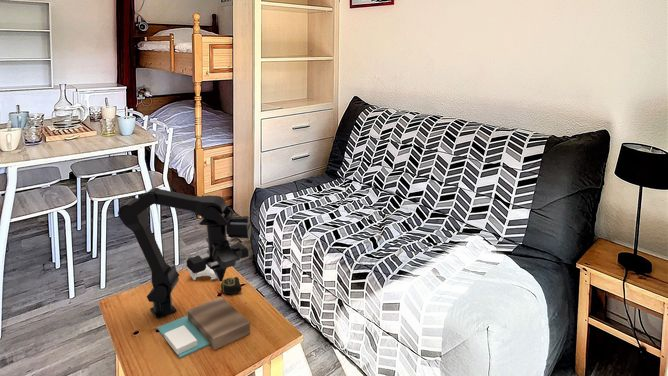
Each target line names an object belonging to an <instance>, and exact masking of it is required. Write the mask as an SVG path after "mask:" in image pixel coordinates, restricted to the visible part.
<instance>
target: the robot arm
mask: <svg viewBox="0 0 668 376" xmlns="http://www.w3.org/2000/svg"><path fill="white" fill-rule="evenodd" d="M152 205H159V206H164V207H168V208H173V209H179V210H183V211H189V212H192V213H195V214H196V215H198V216H199V217H202V219H201V220H200V222H199V223H198V224H199V226H206V234H207V238H206V239H205V240H206V241H205V242H207V247H208V249H207V251H206V252H207V255H208V256H206V257H204V258H203V257H202V258H203V259H202V258H201V255H198V254H197V255H194V257H193V256H191V257H189V258H187V260H186V268H187V267H188V268H189V269H190V270H191V271H192V272H193V273H195V274H196V273H198V272H201V271H204V270H205V269H206V265H207V266H208V267H209V268H210V269H212V270H213V271H214V273H215V275H216V277H217V278H216V279H217V280H218V282H221V283H222V281H223V280H224V277H225V275H226V270H227V269H228V268H230V267H235V266H236V264H237V262H238V261H240V260H241V259H244V258H248V257H249V256H250V249H249V248H248V247H246V246H245V245H244V244H243V243H241V242H238V243H235V244H231V245H230V242H229V240H228V238H230V239H250V238H251V235H252V223H251V220H250V217H249V216H248V215H244V216H234V214H235V213H234V211H232V209H231V208H230V207H229V206H228V205H227V202H226V200H225V199H224V197H222V196H220V195H211V194H210V195H200V196H198V195H197V196H195V195H191V194H185V193H181V192H176V191H170V190H166V189H161V188H159V187H151V189H149V190H148V191H147V192H145V193H144V194H142V195H141V196H139V197H132V198H130V199H129V200H128V201H127V202H125V203H124V204H122V205H121V206H120V207H119V209H118V211H117V217H118V218H119V219H120V221H121V222H122V224H123V225H124V227H126V228H127V229H128V230H130V231H131V232H133V235H134V237H135V238H136V241H137V243H138V245H139V247H140V249H141V251H142V254H143V257H144V258H145V260H146V262H147V264H148V267H149V269H150V270H151V272H150V273H151V285H152V288H151V290H150V291H149V293H148V294H147V295H146V299H147V300H148V302H150V303H152V307H150V308H149V311H150V312H151V313H152V314H153V316H154V317H155V319H161V318H164V317H165V316H170V315H171V314H174V313H176V312H177V309H176V308H175V306H174V305H173V302H172V292H173V290H174V289H175V287H176V286H177V284H178V282H179V277H180V274H179V272H178V271H177V268H176V266H175V265H169V264H168V263H167V262H166V260H165V257H164V256H163V254H162V252H161V249H160V247H159V245H158V242H157V241H156V238H155V236H154V234H153V232H152V229H151V227H150V225H149V211H148V208H149V207H151V206H152ZM223 214H224V215H223ZM188 268H187V269H188Z"/></svg>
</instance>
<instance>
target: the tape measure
mask: <svg viewBox="0 0 668 376" xmlns="http://www.w3.org/2000/svg"><path fill="white" fill-rule="evenodd" d="M220 288H221V291H222V293H224V294H227V295H230V294H231V295H232V294H236V293H240V292H241V291H242V285H241V283H240V278H239V276H235V277H228V278H225V279H224V278H223V280H222V281H221V283H220Z"/></svg>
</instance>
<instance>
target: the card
mask: <svg viewBox="0 0 668 376" xmlns="http://www.w3.org/2000/svg"><path fill="white" fill-rule="evenodd" d="M164 335H165V338H164V339H165V341H166V342H167V344H168V345H169V346H170V347H171V349H172V348H173V349H172V350H173V351H174V353H175V354H176V353H177V354H176V355H177V356H178V354H180V353H183V352H185V351H187V350H189V349H191V348H194V347H196V346H198V345H197V339H196V338H195V337H194V336H193V335H192V334H191V333H190V332H189V330H188V329H187V328H186V327H185V326H184V325H183V326H181V327H178V328H176V329H173V330H171V331H169V332H166V333H164Z"/></svg>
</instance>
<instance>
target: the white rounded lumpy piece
mask: <svg viewBox="0 0 668 376" xmlns="http://www.w3.org/2000/svg"><path fill="white" fill-rule="evenodd" d="M194 256H195V255H194ZM194 256H192V257H194ZM200 257H201V256H200ZM201 258H202V259H203V257H201ZM186 268H187V271H188V273H189V275H190V277H191V278H192V281H196V280H197V278H200V277H211V278H210V280H211V281H213V280H216V279H218V278H217V277H216V275H215V273H214V271H213V270H212V269H210V268H209V267H208V266H207V265H206V269H205V270H204V271H201V272H198V273H193V272H192V271H191V270H190V269H189V268H188V267H187V266H186Z"/></svg>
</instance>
